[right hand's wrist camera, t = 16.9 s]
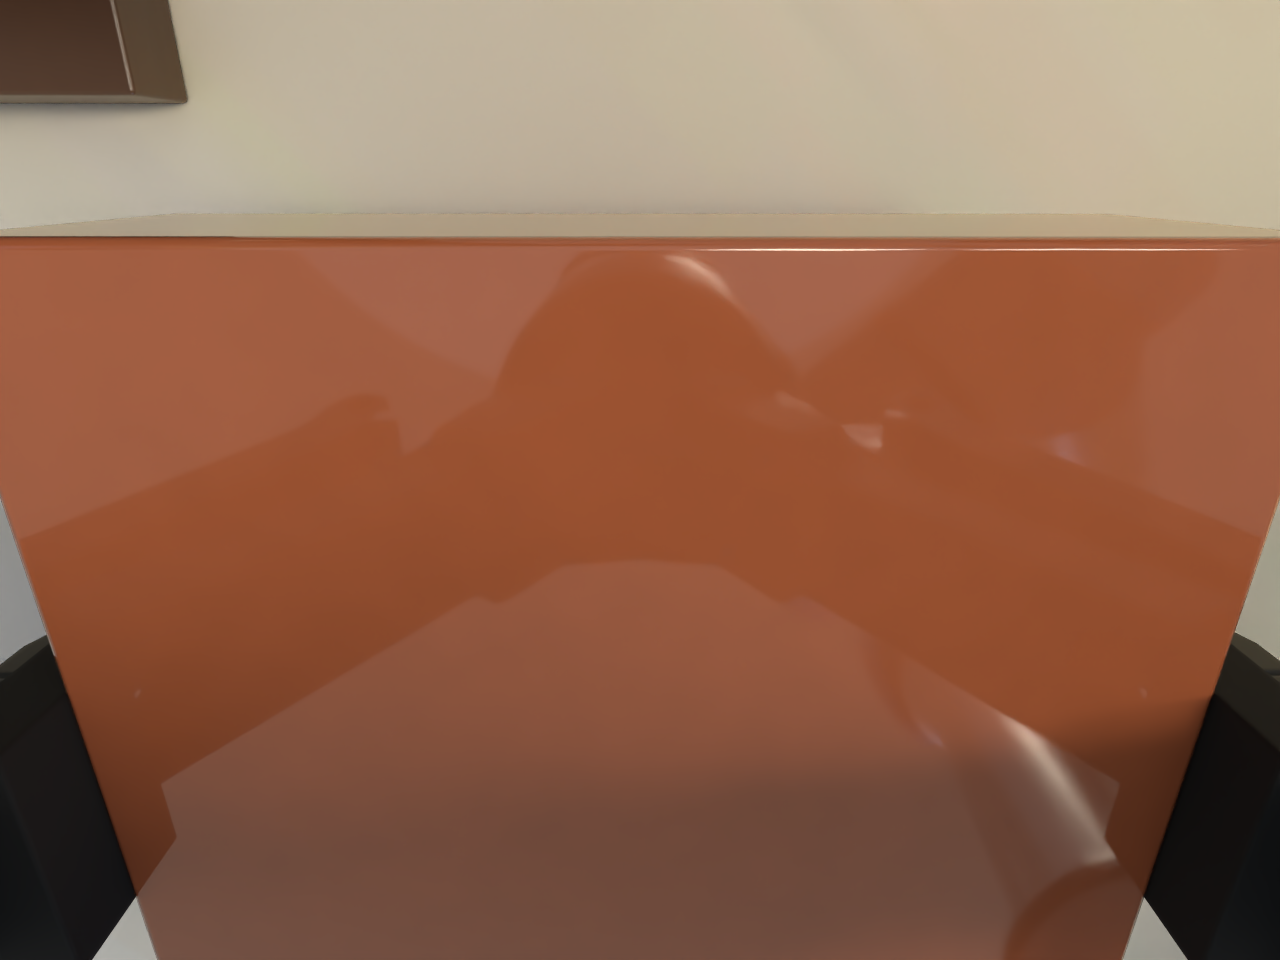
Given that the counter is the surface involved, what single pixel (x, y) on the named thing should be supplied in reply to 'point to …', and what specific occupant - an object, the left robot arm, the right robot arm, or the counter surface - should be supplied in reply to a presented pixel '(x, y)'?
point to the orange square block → (640, 570)
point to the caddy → (88, 52)
